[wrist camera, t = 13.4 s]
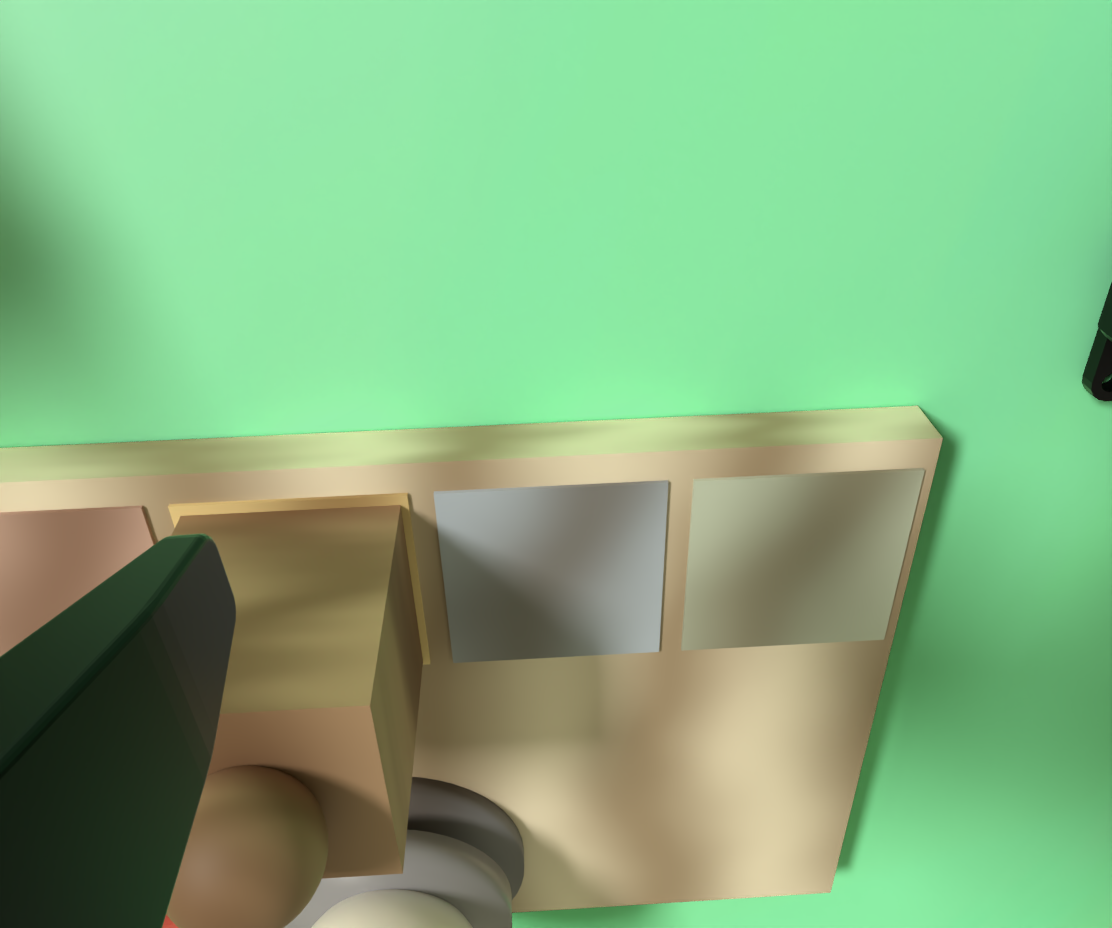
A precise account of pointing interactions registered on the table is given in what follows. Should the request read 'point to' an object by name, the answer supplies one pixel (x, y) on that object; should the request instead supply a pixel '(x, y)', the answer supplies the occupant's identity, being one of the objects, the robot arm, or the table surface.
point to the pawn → (305, 715)
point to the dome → (417, 891)
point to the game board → (576, 620)
